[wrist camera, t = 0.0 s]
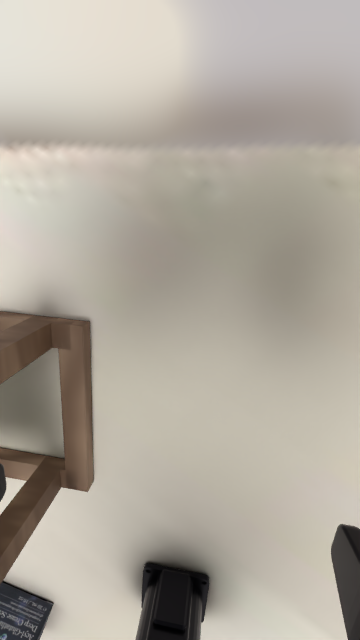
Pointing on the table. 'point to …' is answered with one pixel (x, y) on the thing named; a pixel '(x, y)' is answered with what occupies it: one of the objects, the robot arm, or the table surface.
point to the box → (21, 614)
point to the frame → (75, 378)
